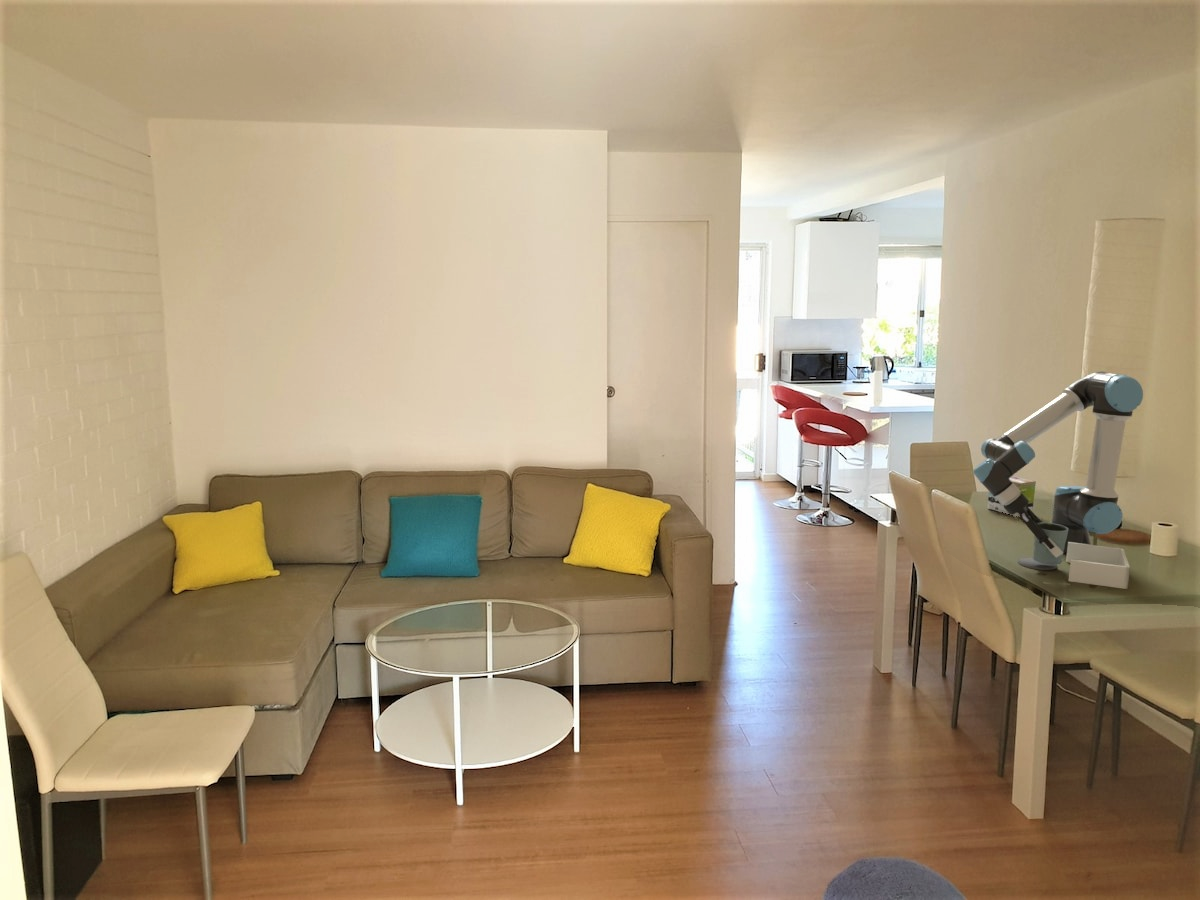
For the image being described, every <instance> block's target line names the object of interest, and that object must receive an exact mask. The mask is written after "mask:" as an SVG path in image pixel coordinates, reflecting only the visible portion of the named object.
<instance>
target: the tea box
mask: <svg viewBox="0 0 1200 900" xmlns="http://www.w3.org/2000/svg"><path fill="white" fill-rule="evenodd" d="M1009 479H1010V481H1011V482H1012V483H1014V485H1015V486H1016V487H1017V488H1018V489H1019V490H1020V493H1022V494H1023V495H1024V496H1025V497H1026V498H1027V499H1028V500H1029V503H1028V504H1027V505H1026V506H1028V508H1029V509H1031V511H1032V512H1033V510H1034V501H1035V494H1036V493H1035V492H1036V484H1037V483H1036V481H1035V480H1031V479H1028V478H1024V477H1020V476H1016V475H1013V476H1011V477H1010V478H1009ZM987 497H988V499H987V509H988V510H993V511H997V512H998V513H1002V512H1003V513H1002V514H1005V513H1006V514H1005V515H1008V514H1009V513H1008V512H1007V510H1006V509H1005V508H1004V505H1001V504H1000V502H999V501H995V499H996V498H995V497H994V496H993V495H992V494H991V493H990V492H989V491H988V496H987ZM1009 516H1011V514H1010V515H1009ZM1014 516H1019V513H1015V514H1013V516H1012V517H1014Z"/></svg>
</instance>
